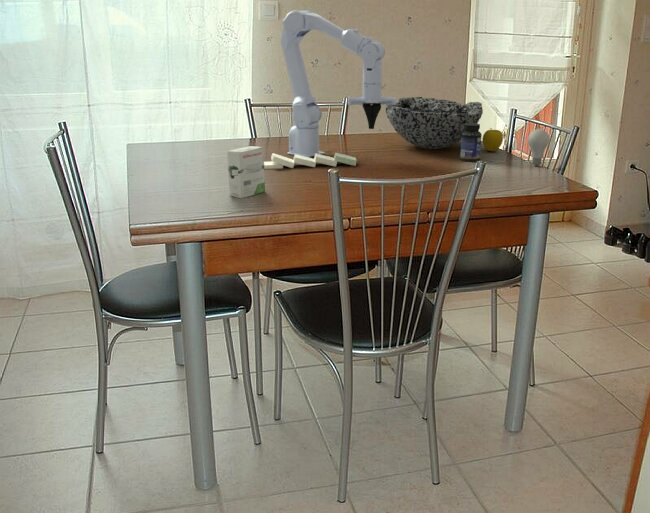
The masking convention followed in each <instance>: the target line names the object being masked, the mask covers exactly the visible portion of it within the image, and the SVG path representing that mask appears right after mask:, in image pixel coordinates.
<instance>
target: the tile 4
mask: <svg viewBox="0 0 650 513" xmlns="http://www.w3.org/2000/svg"><path fill="white" fill-rule="evenodd" d="M313 157H314V158H313V159H314V160H315V162H316V163H318V164H322V165H327V166H332V167H337V164H338V162H337V161H334V156H329V155H324V154H321V155H320V154H316V153H315V156H313Z"/></svg>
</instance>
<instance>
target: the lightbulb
mask: <svg viewBox="0 0 650 513" xmlns="http://www.w3.org/2000/svg"><path fill="white" fill-rule="evenodd" d="M527 137H528V138H527V142H528V146H529V148H530V151H531V158H532V160H531V162H532V163H531V164H532V165H533V166H534V167H539V166H540V165H541V164H542V159H543V157H544V152H545V150H546V149H547V147H548V146H549V144H550V138H551V137H550V135H549V133H548V131H546V130H545V129H542V128H537V129H534V130H532V131H531V132H530V133H529V135H528V136H527Z"/></svg>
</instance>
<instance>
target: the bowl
mask: <svg viewBox="0 0 650 513" xmlns="http://www.w3.org/2000/svg"><path fill="white" fill-rule="evenodd" d="M385 105H386V106H385V113H386V115H387V116H386V117H387V119H388V120H389V122H390V124H391V126H392V127H393V128H394V131H395V132H396V133H397V134H398V135H399V136H400V137H402V138H403V139H404V140H405V141H406V142H407V143H410V144H411V145H413V146H415V147H419V148H422V149H427V150H439V149H446V148H448V147H452V146H453V145H456V144H457V143H459V142H461V134H462V132H464V131H465V129H464V124H466V123H477V124H479V122H480V120H481V118H482V116H483V112H484V109H483V103H482V102H480V101H469V102H467V103H465V104H462V103H461V102H457V101H453V100H447V99H440V98H439V99H438V98H437V99H436V98H434V97H422V96H410V97H400V98H399V99H398V102H396V105H392V104H385Z"/></svg>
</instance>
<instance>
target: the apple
mask: <svg viewBox="0 0 650 513" xmlns="http://www.w3.org/2000/svg"><path fill="white" fill-rule="evenodd" d="M503 140H504V135H503V132H502V131H501V130H499V129H492V128H491V127H490V129H488V130H486V131H484V133H483V135H482V138H481V142H482V145H483V148H484V149H485V150H486V151H489V152H496V151H498V149H499V148H500V147H501V146H502V144H503Z"/></svg>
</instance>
